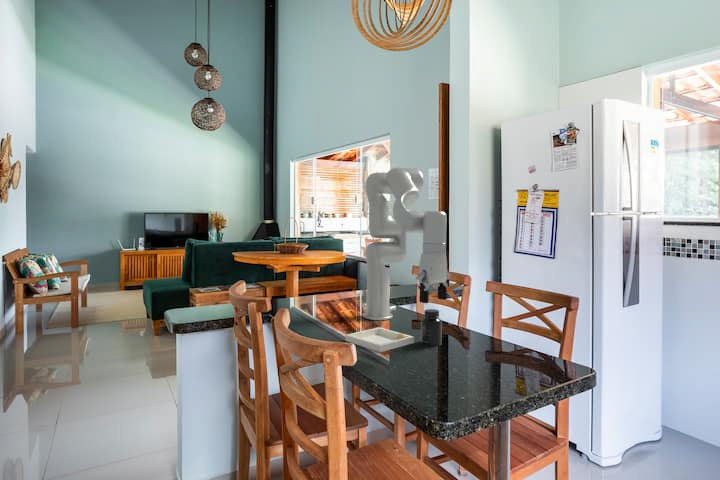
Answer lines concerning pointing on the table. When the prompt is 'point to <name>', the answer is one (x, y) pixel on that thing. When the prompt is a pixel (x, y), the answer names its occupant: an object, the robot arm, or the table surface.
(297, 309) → the table surface
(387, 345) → the tray
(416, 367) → the table surface
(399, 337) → the ball
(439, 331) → the supplement bottle
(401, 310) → the table surface
